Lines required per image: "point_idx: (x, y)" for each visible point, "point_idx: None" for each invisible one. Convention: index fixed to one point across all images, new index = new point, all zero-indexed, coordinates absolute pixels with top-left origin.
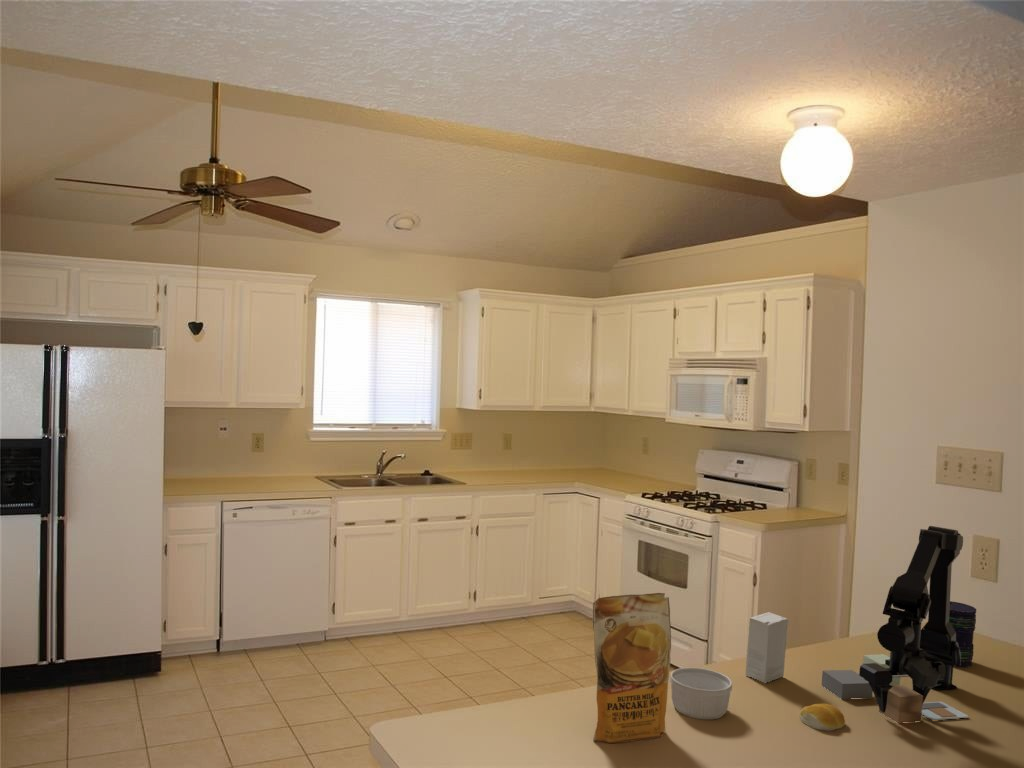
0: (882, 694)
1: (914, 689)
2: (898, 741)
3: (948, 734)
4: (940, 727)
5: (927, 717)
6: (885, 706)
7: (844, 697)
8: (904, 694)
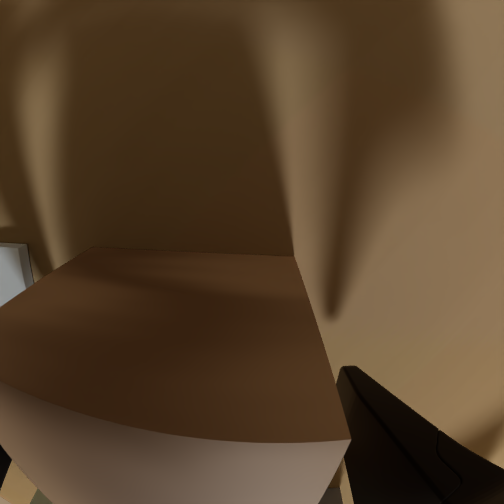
0: (484, 460)
1: (3, 452)
2: (480, 56)
3: (57, 62)
4: (30, 159)
5: (29, 283)
6: (367, 393)
7: (328, 495)
8: (158, 477)
